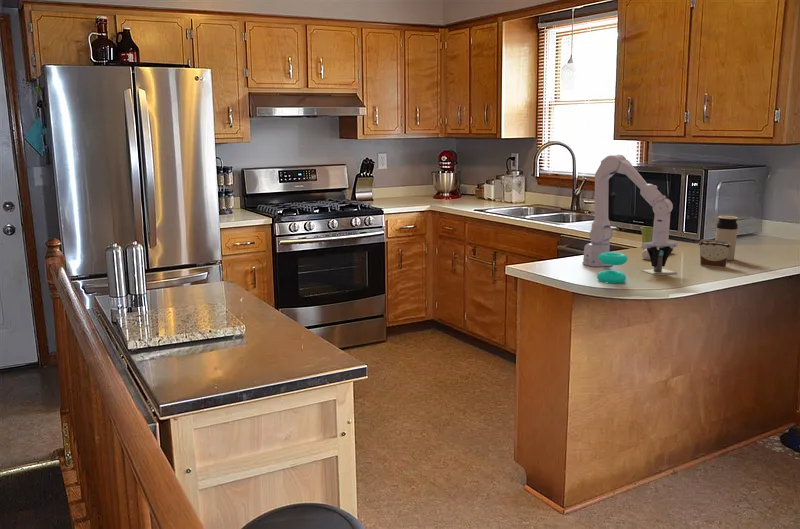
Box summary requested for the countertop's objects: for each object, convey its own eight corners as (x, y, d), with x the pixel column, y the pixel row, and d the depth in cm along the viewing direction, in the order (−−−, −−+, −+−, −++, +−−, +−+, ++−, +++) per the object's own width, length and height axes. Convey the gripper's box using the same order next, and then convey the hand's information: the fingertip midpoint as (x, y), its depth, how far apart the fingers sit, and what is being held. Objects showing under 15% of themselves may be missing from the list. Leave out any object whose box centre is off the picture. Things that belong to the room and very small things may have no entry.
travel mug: (735, 261, 299) (739, 218, 296) (714, 259, 302) (718, 217, 298) (732, 257, 307) (737, 216, 303) (712, 256, 309) (716, 215, 306)
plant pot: (657, 245, 337) (659, 227, 335) (662, 248, 328) (663, 229, 326) (637, 244, 338) (638, 226, 337) (640, 247, 329) (642, 229, 327)
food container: (731, 265, 290) (733, 241, 288) (729, 268, 284) (732, 243, 282) (698, 262, 296) (701, 238, 294) (696, 264, 290) (698, 240, 288)
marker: (656, 272, 272) (658, 251, 271) (651, 270, 275) (653, 250, 274) (663, 272, 273) (665, 251, 271) (658, 270, 276) (660, 249, 275)
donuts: (600, 250, 263) (628, 252, 259) (598, 277, 265) (626, 279, 261) (597, 255, 253) (626, 257, 250) (595, 282, 255) (624, 285, 252)
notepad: (654, 275, 269) (654, 273, 269) (641, 270, 277) (642, 269, 277) (677, 273, 272) (677, 272, 272) (664, 269, 280) (664, 268, 280)
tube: (654, 252, 296) (675, 244, 315) (642, 246, 299) (664, 239, 318) (649, 263, 298) (670, 255, 317) (637, 258, 301) (659, 250, 320)
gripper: (650, 233, 265) (647, 269, 268) (684, 232, 269) (680, 267, 272) (639, 230, 272) (636, 265, 275) (672, 229, 276) (669, 263, 279)
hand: (658, 266), depth 274 cm, fingers closed on marker, 3 cm apart
